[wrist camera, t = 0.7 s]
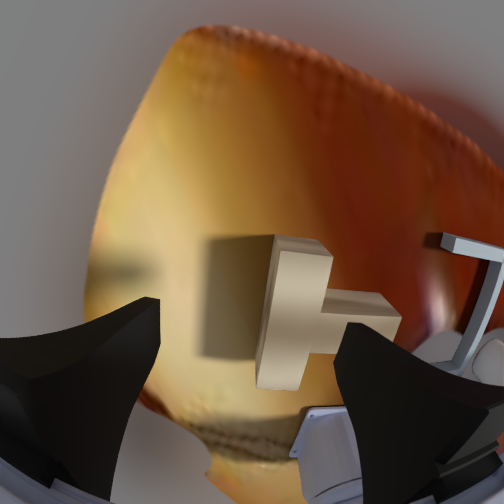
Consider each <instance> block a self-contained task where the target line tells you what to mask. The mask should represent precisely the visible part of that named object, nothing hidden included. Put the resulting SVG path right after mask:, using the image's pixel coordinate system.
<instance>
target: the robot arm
mask: <svg viewBox="0 0 504 504" xmlns="http://www.w3.org/2000/svg"><path fill="white" fill-rule="evenodd" d="M160 344H161V339H160V299H155V298H150V297H143V298H140V299H138V300H136V301H133V302H131V303H129V304H127V305H125V306H123V307H121V308H119V309H117V310H115V311H113V312H111V313H109V314H106V315H104V316H102V317H99V318H97V319H94V320H92V321H90V322H87V323H85V324H82V325H79V326H76V327H73V328H69V329H66V330H62V331H58V332H53V333H48V334H43V335H38V336H30V337H20V338H0V504H114V503H112V502H110V496H111V489H112V483H113V477H114V472H115V467H116V463H117V458H118V453H119V450H120V446H121V442H122V439H123V435H124V432H125V428H126V426H127V422H128V419H129V416H130V414H131V411H132V409H133V406H134V404H135V402H136V400H137V398H138V396H139V394H140V392H141V390H142V388H143V386H144V384H145V382H146V380H147V378H148V375H149V373H150V371H151V369H152V367H153V365H154V363H155V360H156V357H157V354H158V350H159V347H160ZM333 364H334V369H335V375H336V379H337V384H338V387H339V390H340V393H341V395H342V398H343V401H344V404H345V406H340V407H312V408H310V409H308V411H307V413H306V416H305V418H304V421H303V423H302V425H301V428H300V430H299V432H298V435H297V437H296V439H295V442H294V444H293V446H292V448H291V450H290V453H289V457H292V458H293V457H297V458H298V465H299V472H300V479H301V486H302V493H303V496H304V498H305V500H306V501H307V502H308V504H504V451H503V452H502V453H500V454H499V455H498V454H497V453H496V451H495V450H497V449H498V448H499V444H498V442H497V441H496V440H497V438H498V437H499V436H500V435H501V434H502V432H503V431H504V386H498V385H490V384H485V383H481V382H476V381H472V380H469V379H465V378H462V377H459V376H457V375H454V374H451V373H448V372H446V371H443V370H441V369H439V368H437V367H435V366H433V365H431V364H429V363H427V362H424V361H422V360H421V359H419V358H417V357H416V356H414V355H412V354H411V353H409V352H407V351H406V350H404V349H403V348H401V347H399V346H398V345H396V344H395V343H393V342H392V341H390V340H389V339H387V338H386V337H384V336H383V335H381V334H380V333H378V332H377V331H375V330H374V329H372V328H370V327H369V326H367V325H365V324H363V323H357V322H347V326H346V329H345V332H344V334H343V337H342V340H341V343H340V346H339V349H338V352H337V354H336V357H335V360H334V362H333Z"/></svg>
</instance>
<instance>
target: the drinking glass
mask: <svg viewBox="0 0 504 504" xmlns="http://www.w3.org/2000/svg"><path fill="white" fill-rule="evenodd" d="M472 371H473V374H474V375H475V376H476V377H477V378H478V379H479V381H480V382H481V383H485V384H490V385H498V386H504V343H503V342H502V341H500V340H499V339H492V340H490V341H488V342H487V343H486V344H485V345H484V346H483V347H482V348H481V349H480V350H479V352H478V353H477V355H476V357H475V359H474V361H473V364H472Z"/></svg>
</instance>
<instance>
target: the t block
mask: <svg viewBox="0 0 504 504" xmlns="http://www.w3.org/2000/svg"><path fill="white" fill-rule="evenodd" d="M332 261H333V256H332V255H331V254H330V253H329V252H328V251H327V250H326V249H325V248H324V246H323V245H322V244H321V243H320V242H319V241H318V240H314V239H307V238H299V237H292V236H284V235H276V234H274V241H273V248H272V254H271V261H270V267H269V274H268V280H267V286H266V292H265V299H264V305H263V311H262V317H261V323H260V329H259V335H258V341H257V347H256V352H255V373H256V388H259V389H274V390H298V388H299V385H300V382H301V379H302V376H303V373H304V369H305V366H306V363H307V359H308V356H309V353H330V354H337V352H338V349H339V346H340V343H341V340H342V337H343V334H344V332H345V329H346V326H347V322H357V323H363V324H365V325H367V326H369V327H370V328H372V329H374V330H375V331H377V332H378V333H380V334H381V335H383V336H384V337H386V338H387V339H389V340H390V341H392V342H393V339H394V337H395V334H396V332H397V329H398V326H399V324H400V321H401V318H402V316H401V315H400V314H399V313H398V312H397V311H396V310H395V309H394V308H393V307H392V306H391V305H390V304H389V303H388V302H387V300H386V299H385V298H384V297H383V296H382V295H381V294H380V293H373V292H361V291H349V290H338V289H327V284H328V279H329V275H330V271H331V266H332Z"/></svg>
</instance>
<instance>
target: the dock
mask: <svg viewBox="0 0 504 504" xmlns="http://www.w3.org/2000/svg"><path fill="white" fill-rule="evenodd" d="M440 247H442V248H444V249H446V250H448V251H450V252H452V253H457V254H462V255H467V256H472V257H477V258H482V259H487V260H490V263H489V267H488V270H487V273H486V277H485V280H484V283H483V286H482V289H481V292H480V295H479V298H478V301H477V303H476V306H475V309H474V311H473V314H472V316H471V319H470V321H469V324H468V326H467V328H466V331H465V333H464V335H463V338H462V340H461V342H460V344H459V346H458V348H457V350H456V352H455V354H454V356H453V359H452V360H451V361H444V362H436V363H429V364H431V365H433V366H435V367H437V368H439V369H441V370H443V371H446V372H448V373H451V374H454V375H457V376H459V377H461V376H462V374H463V372H464V371H465V369H466V367H467V365H468V363H469V361H470V359H471V357H472V355H473V353H474V352H475V350H476V347H477V345H478V343H479V341H480V339H481V337H482V335H483V332H484V330H485V328H486V326H487V323H488V321H489V318H490V316H491V313H492V311H493V308H494V306H495V303H496V300H497V298H498V295H499V292H500V289H501V286H502V283H503V280H504V249H503V248H501V247H498V246H494V245H491V244H487V243H483V242H479V241H476V240H472V239H468V238H464V237H460V236H456V235H452V234H448V233H443V237H442V241H441V245H440Z"/></svg>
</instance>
